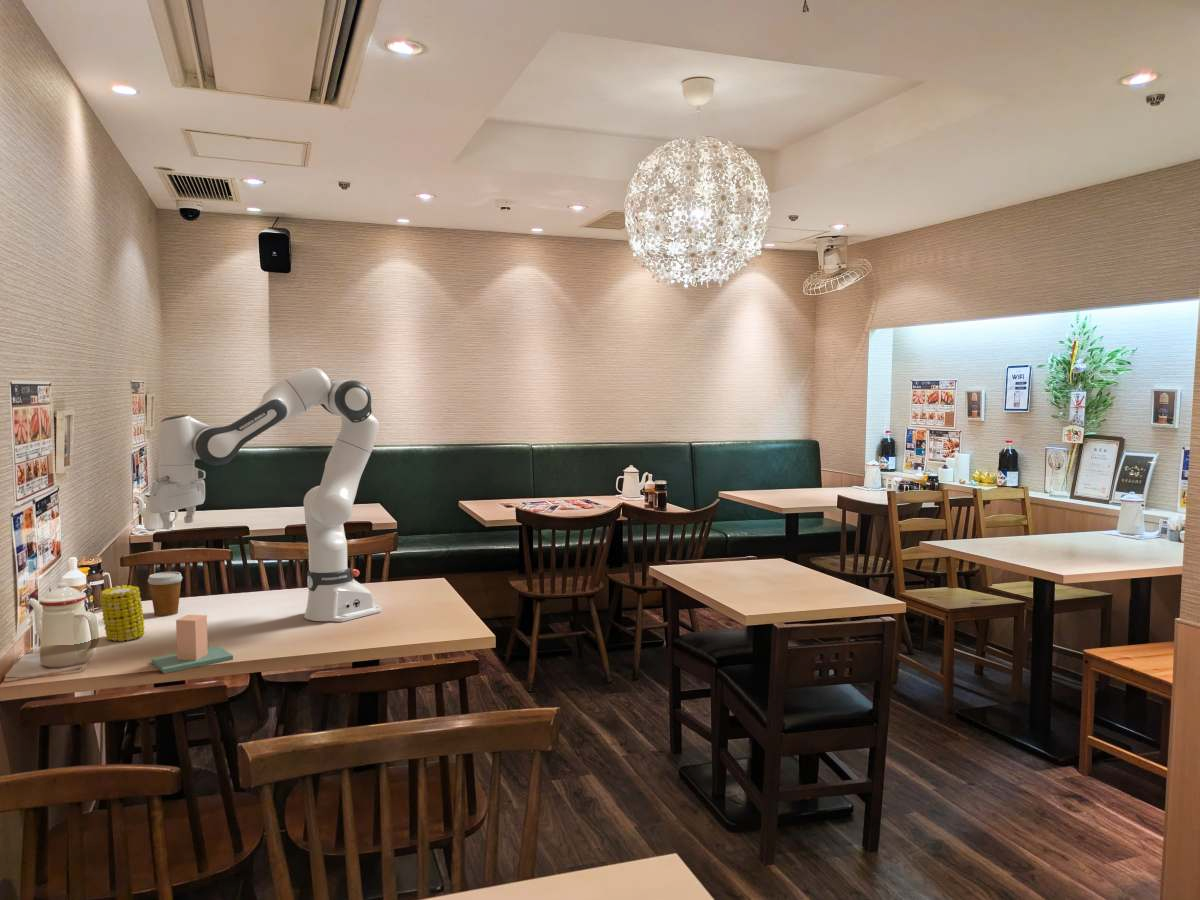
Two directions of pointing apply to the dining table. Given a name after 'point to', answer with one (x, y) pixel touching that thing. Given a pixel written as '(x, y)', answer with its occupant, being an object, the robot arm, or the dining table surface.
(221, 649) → the green pad
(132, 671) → the dining table surface
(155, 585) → the disposable coffee cup
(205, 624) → the terracotta block
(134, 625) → the food
